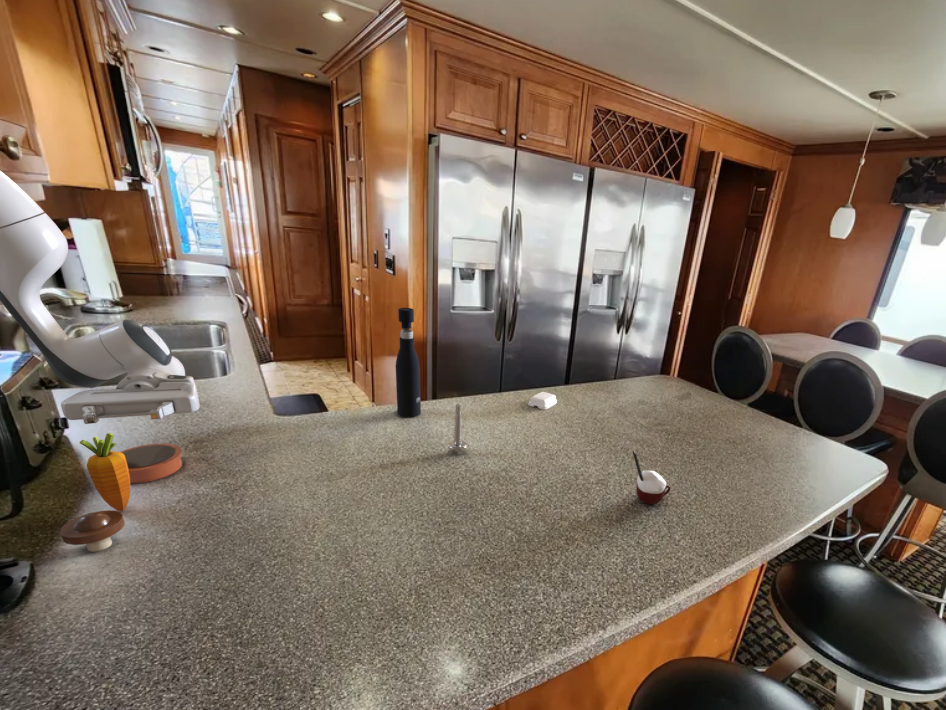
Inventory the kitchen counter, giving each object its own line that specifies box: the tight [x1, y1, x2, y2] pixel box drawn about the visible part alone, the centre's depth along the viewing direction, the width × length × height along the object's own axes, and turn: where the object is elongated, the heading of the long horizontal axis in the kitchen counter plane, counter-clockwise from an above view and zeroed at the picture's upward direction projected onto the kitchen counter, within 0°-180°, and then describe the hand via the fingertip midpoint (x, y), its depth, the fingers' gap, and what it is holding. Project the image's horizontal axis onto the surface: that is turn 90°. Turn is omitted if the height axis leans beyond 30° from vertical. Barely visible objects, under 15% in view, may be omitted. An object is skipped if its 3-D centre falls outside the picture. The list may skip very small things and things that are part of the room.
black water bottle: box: [395, 307, 422, 419], centre depth 127 cm, size 6×6×30 cm
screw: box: [447, 403, 469, 456], centre depth 111 cm, size 13×5×5 cm
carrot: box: [79, 432, 131, 513], centre depth 78 cm, size 5×5×15 cm
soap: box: [528, 391, 558, 410], centre depth 149 cm, size 9×7×3 cm
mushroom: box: [59, 510, 126, 553], centre depth 72 cm, size 7×7×6 cm
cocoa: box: [632, 450, 671, 505], centre depth 99 cm, size 10×6×12 cm, turn 77°
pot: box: [120, 443, 183, 484], centre depth 93 cm, size 12×12×3 cm
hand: (122, 417), depth 85 cm, fingers open, 8 cm apart
